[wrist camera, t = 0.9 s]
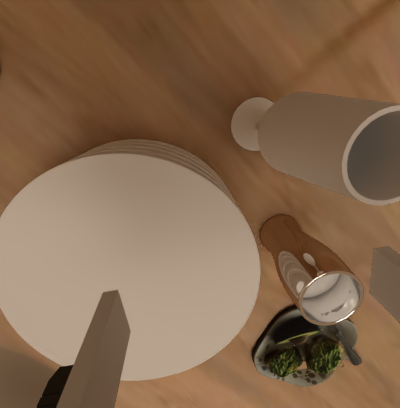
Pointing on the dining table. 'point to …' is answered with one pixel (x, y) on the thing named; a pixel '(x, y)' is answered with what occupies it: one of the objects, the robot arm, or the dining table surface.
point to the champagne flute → (327, 142)
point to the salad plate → (304, 349)
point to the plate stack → (129, 256)
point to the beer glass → (311, 273)
